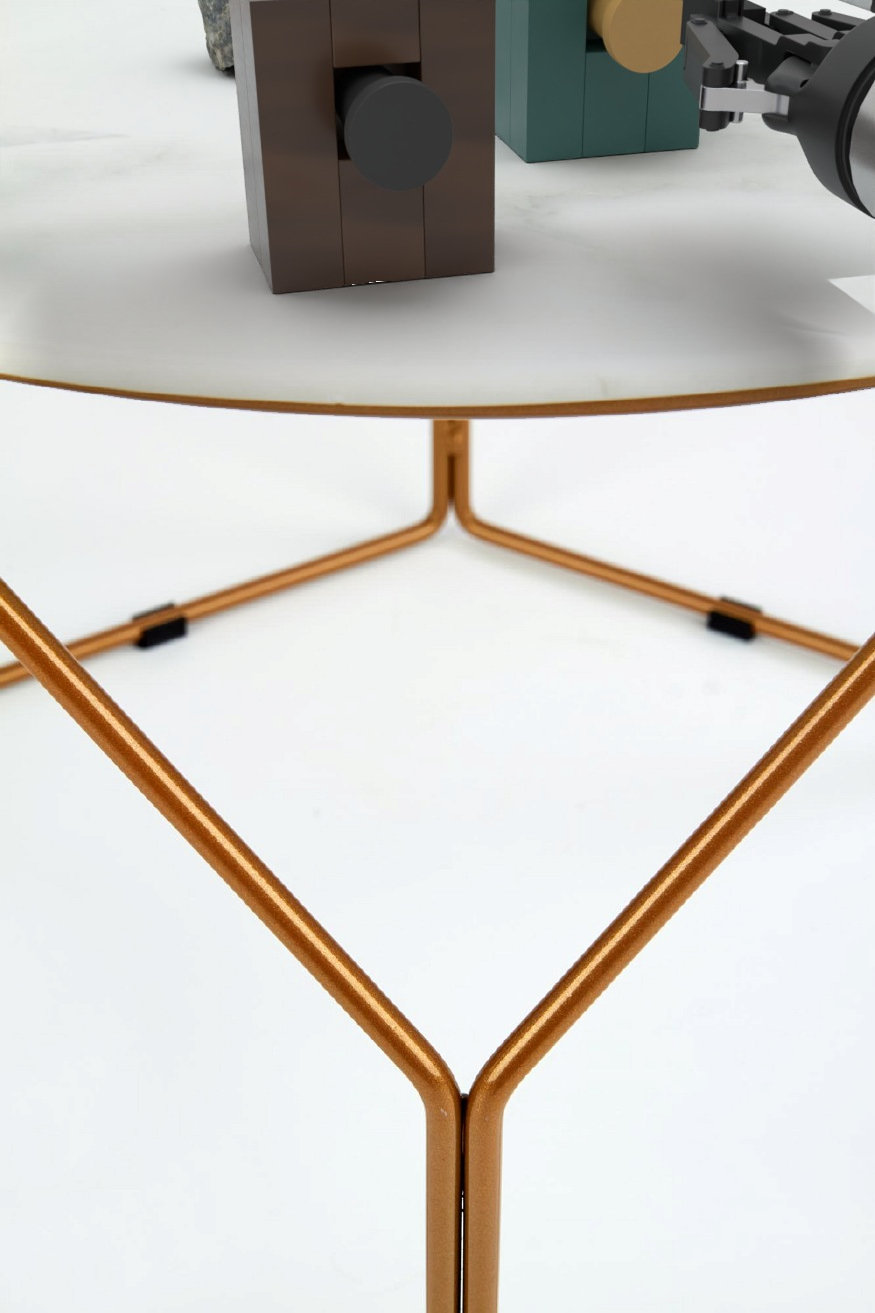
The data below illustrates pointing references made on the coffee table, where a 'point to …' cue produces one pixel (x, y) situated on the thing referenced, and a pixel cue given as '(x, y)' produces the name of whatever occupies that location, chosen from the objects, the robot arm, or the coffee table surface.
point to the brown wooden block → (314, 152)
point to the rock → (218, 31)
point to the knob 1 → (393, 127)
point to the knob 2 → (638, 31)
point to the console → (581, 89)
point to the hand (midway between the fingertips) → (695, 14)
